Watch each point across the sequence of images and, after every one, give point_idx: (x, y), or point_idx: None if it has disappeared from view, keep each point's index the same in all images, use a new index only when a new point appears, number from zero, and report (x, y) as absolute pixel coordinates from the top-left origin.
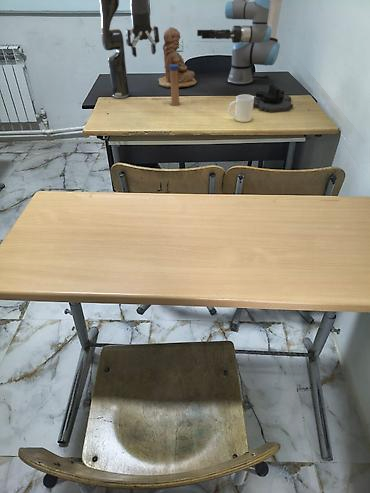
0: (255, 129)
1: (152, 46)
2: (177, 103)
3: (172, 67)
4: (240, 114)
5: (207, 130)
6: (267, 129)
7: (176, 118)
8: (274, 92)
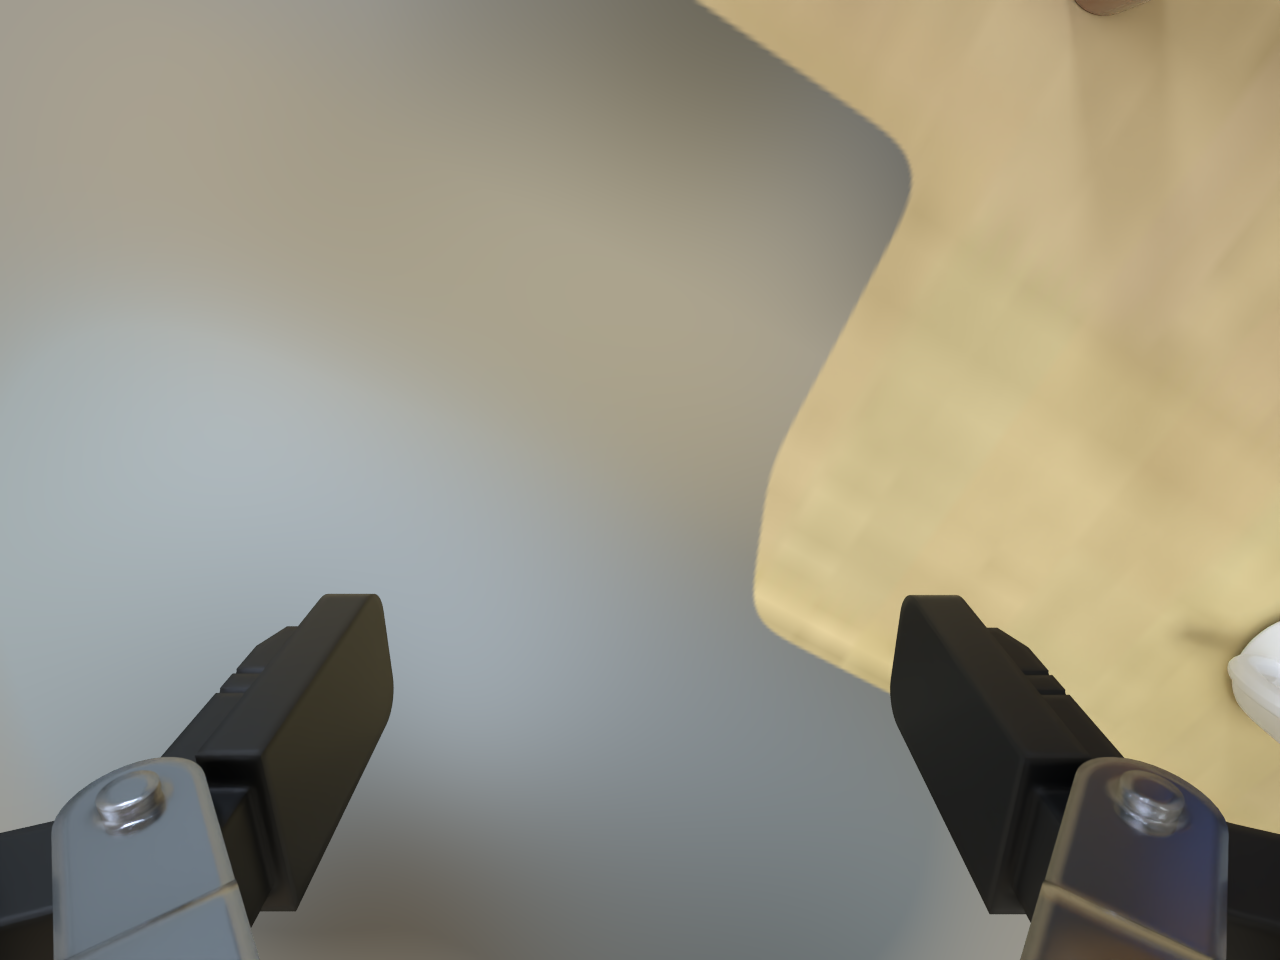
0: None
1: (974, 836)
2: (1122, 9)
3: None
4: (1273, 734)
5: None
6: None
7: (879, 383)
8: None
